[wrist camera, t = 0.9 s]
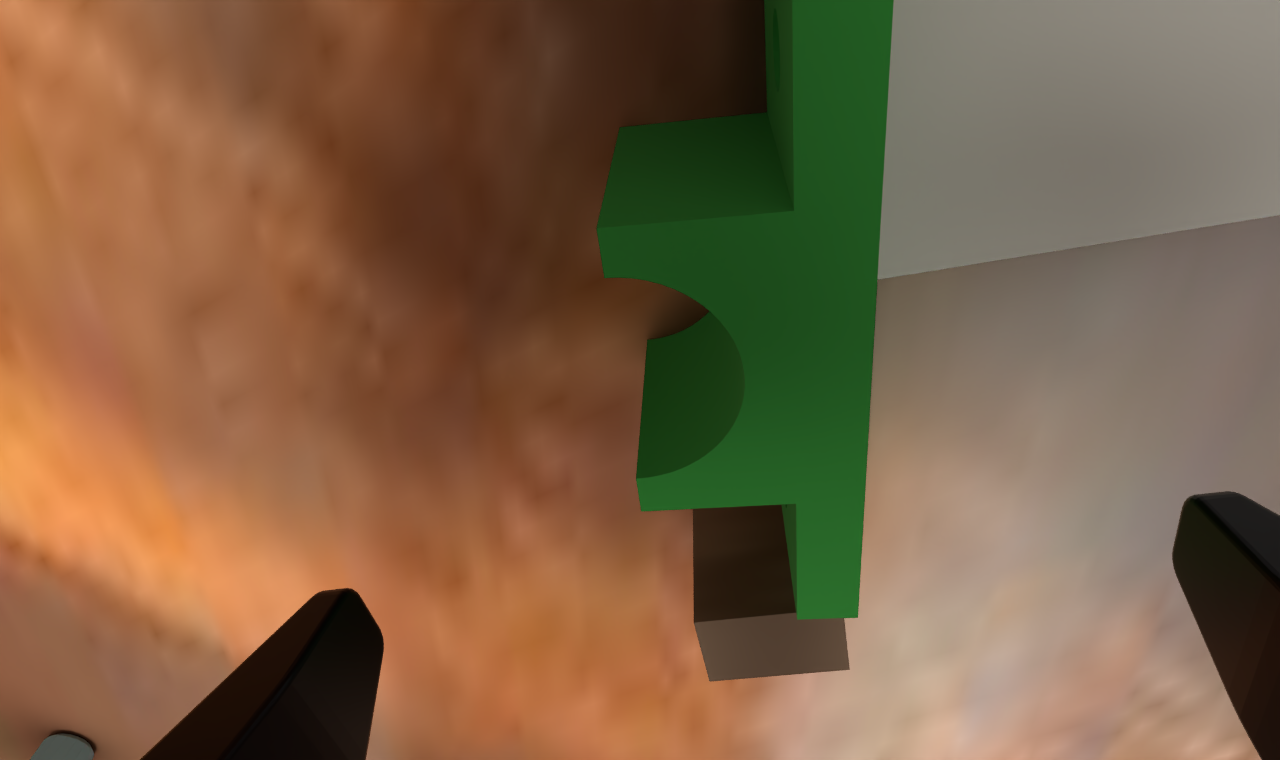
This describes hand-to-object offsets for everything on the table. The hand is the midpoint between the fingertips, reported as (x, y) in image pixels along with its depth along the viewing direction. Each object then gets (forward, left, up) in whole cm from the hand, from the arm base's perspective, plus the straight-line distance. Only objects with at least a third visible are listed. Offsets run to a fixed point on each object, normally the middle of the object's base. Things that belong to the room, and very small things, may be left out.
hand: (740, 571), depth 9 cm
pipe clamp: (0, 0, -9) cm, 9 cm away
